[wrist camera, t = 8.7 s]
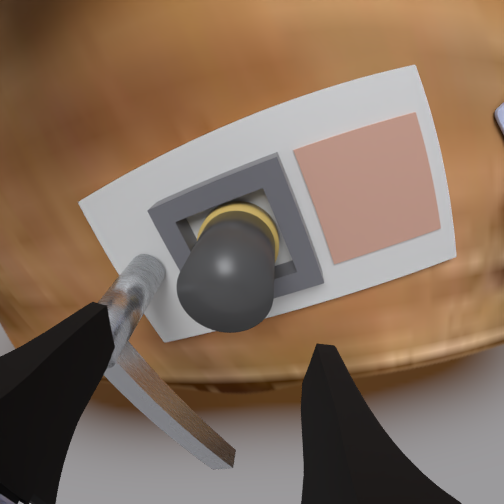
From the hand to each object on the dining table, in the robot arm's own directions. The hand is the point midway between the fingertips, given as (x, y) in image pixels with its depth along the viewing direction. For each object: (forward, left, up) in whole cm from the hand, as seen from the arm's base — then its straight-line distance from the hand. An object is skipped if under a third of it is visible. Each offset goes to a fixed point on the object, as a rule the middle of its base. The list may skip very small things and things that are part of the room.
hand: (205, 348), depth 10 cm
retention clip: (-3, +8, -9) cm, 12 cm away
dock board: (-1, -2, -10) cm, 10 cm away
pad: (-3, -7, -9) cm, 12 cm away
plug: (0, 0, -9) cm, 9 cm away
